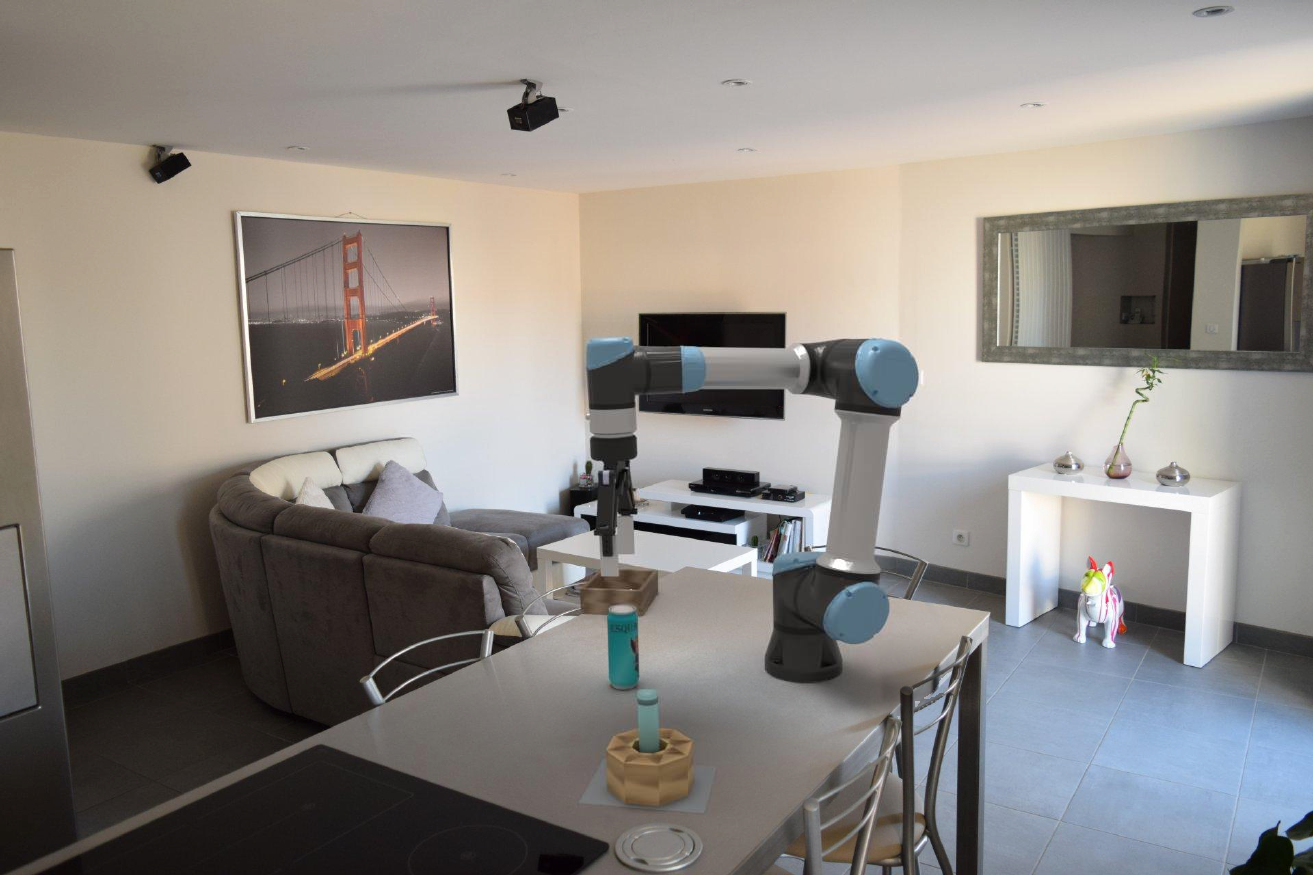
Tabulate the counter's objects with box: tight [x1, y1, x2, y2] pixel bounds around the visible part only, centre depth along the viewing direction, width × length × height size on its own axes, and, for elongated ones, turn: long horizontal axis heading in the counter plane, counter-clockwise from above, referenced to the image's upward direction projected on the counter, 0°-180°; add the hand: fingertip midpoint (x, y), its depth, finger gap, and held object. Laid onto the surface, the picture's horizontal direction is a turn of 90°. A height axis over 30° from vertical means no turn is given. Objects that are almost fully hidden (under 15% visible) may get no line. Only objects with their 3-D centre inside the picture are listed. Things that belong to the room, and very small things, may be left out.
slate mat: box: [578, 757, 719, 815], centre depth 137 cm, size 18×14×1 cm
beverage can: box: [606, 605, 640, 691], centre depth 176 cm, size 6×6×15 cm
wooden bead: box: [605, 727, 694, 806], centre depth 137 cm, size 12×12×6 cm
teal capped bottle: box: [636, 688, 660, 754], centre depth 137 cm, size 3×3×14 cm
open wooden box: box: [579, 567, 659, 617], centre depth 229 cm, size 15×19×6 cm
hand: (618, 564), depth 151 cm, fingers open, 13 cm apart
